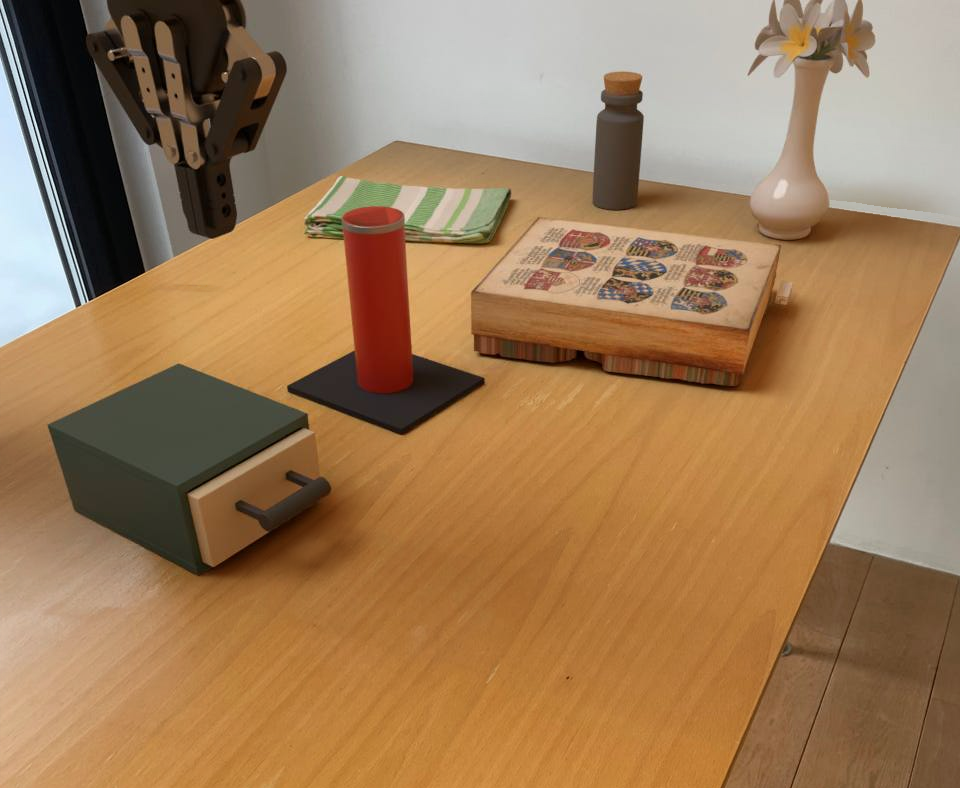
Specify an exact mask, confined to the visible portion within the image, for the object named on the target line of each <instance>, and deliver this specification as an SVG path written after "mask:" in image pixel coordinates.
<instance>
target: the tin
mask: <svg viewBox="0 0 960 788" xmlns="http://www.w3.org/2000/svg"><path fill="white" fill-rule="evenodd" d="M341 221H342V227H343V235H344V239H343V244H344V255H345V265H346V275H347V285H348V287H347V288H348V296H349V305H350V306H349V307H350V317H351V326H352V327H351V328H352V337H353V348H354V350H355V359H356V369H357V379H358V384H359V386H360V387H361V388H362V389H364V390H366V391H368V392H372V393H378V394H388V393H395V392H399V391H402V390H404V389H406V388H408V387H409V386H411V384H412V383H413V380H414V378H413V362H412V354H413V350H412V349H413V348H412V347H413V346H412V331H411V329H412V328H411V314H410V296H409V281H408V280H409V278H408V264H407V247H406V245H407V244H406V241H405V227H404V223H405V217H404V213H403V212H402V211H400V210H398V209H395V208H391V207H384V206H369V207H361V208H357V209H353V210H350V211H348V212H346V213H345V214H343V215H342V217H341Z"/></svg>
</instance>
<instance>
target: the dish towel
mask: <svg viewBox="0 0 960 788" xmlns="http://www.w3.org/2000/svg"><path fill="white" fill-rule="evenodd" d="M511 198H512V189H511V188H509V187H493V188H451V187H450V188H449V187H437V186H419V185H418V186H417V185H405V184H399V183H391V182H374V181H370V180H364V179H358V178H352V177H348V176H343V175H341V176H339V177H337V179H336V180H335V182H334V183H333V185H332V186H331V187H330V188H329V189H328V191H327V192H326V193H325V194H324V195H323V196H322V198H321V199H320V200H319V201H318V202H317V204H316V205H315V206H314V207H313V208H312V209H310V211H309V212H308V214H307V215H306V216H305V217H304V218H303V224H304V225H305V226H306V229H305V230H304V235H307V236H309V237H310V238H312V239H313V238H314V239H315V238H326V239H340V240H344V235H343V227H342V221H341V217H342V215H343V214H345V213H346V212H348V211H350V210H353V209H357V208H361V207H369V206H384V207H391V208H395V209H398V210H400V211H402V212H403V213H404V217H405V223H404V227H405V242H421V243H442V244H443V243H444V244H458V243H460V244H480V245H481V244H489V243H490V242H491V241H492V239H493V237H494V236H495V234H496V232H497V230H498V228H499V226H500V224H501V222H502V219H503V217H504V215H505V212H506V210H507V207H508V205H509V203H510V200H511Z"/></svg>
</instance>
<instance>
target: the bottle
mask: <svg viewBox="0 0 960 788" xmlns="http://www.w3.org/2000/svg"><path fill="white" fill-rule="evenodd" d="M642 81H643V75H642V74H641V73H638V72H634V71H611V72H608V73H605V74H604V75H603V84H604V89H603V90H602V91H601V92H600V101H601V102H602V103H603V104H604V109H602V110H600V111H599V112H598V114H597V115H596V125H595V142H594V143H595V144H594V161H593V181H592V204H593V205H594V206H595V207H597V208H600V209H604V210H609V211H621V210H628V209H631V208H634V207H635V206H636V205H637V203H638V198H639V197H638V194H639V183H640V171H641V160H642V159H641V158H642V147H643V134H644V123H645V122H644V121H645V116H644V114H643V113H642V112H641V110H639V109H638V104H640V103H642V102H643V99H644V98H643V96H644V92H643V91H642V90H640V89H641V85H642Z"/></svg>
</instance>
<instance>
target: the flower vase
mask: <svg viewBox="0 0 960 788" xmlns="http://www.w3.org/2000/svg"><path fill="white" fill-rule="evenodd" d="M823 1H824V0H809V1H808V2H807V4H806V5H805V7H804V10H803V7H802V3H801V1H800V0H783V3H782V7H781V9H780V11H779V17H778V13H777V7H776V0H772V2H771V4H770V9H769V14H768V24H767V25H765V26H763V28H762V29H761V30H760V32H759V33H758V35H757V37H756V38H755V42H754V50H756V51H758V55H757V56H756V57H755V58H754V61H753V62H752V63H751V66H750V68H749V70H748V73H747V77H750V75H751V74H752V73H753V72H755V70H756V69H757V68H758V67H759V66H760V65H761V64H762V63H763V62H764V61H766V59H767V58H769V57H774V56H775V57H776V56H780V57H779V58H777V60H776V62H775V65H774V67H773V77H774V78H775V79H776V78H778V79H779V78H781V77H782V76H783V75H784V74H785V73H786V72H787V71H788V70H789V68H790V66H791V65H792V64H793V67H794V68H793V69H794V91H793V98H792V99H793V100H792V106H791V111H790V117H789V122H788V127H787V132H786V136H785V139H784V143H783V148H782V151H781V154H780V156H779V158H778V160H777V162H776V163H775V165H774V167H773V169H771V171H770V172H769V174H767V175H766V176H764V178H763V179H762V180H760V181H759V182H758V183H757V184H756V186H755V188H754V189H753V191H752V193H751V195H750V197H749V200H748V206H749V210H750V213H751V215H752V217H753V218H754V219H755V220H756V222H758V223H759V224H758V230H759V233H761V234H762V235H763V236H765V237H768V238H770V239H775V240H785V241H793V240H794V241H795V240H801V239H804V238H807V237H808V236H809V235H810V234H811V231H812V228H813V227H815V226H816V225H817V224H819V223H820V222H821V221H822V220H823V219H824V218H825V217H826V215H827V213H828V211H829V208H830V196H829V193H828V190H827V188H826V186H825V185H824V183H823V181H822V180H821V179H820V177H819V176H818V173H817V169H816V164H815V157H814V156H815V155H814V151H815V149H814V148H815V147H814V146H815V138H816V137H815V136H816V130H817V123H818V116H819V110H820V104H821V98H822V95H823V91H824V87H825V84H826V81H827V78H828V76H829V73H830V72H831V73H832V74H839V73H840V72H841V71H842V69H843V67H844V57H843V56H845V58H846V61H847V63H848V65H849V66H850V67H851V68H853V67H854V66H856V67H857V69H858V70H859V71H860V72H861V74H862V75H863V76H864V77H865V78H867V79H868V78H869V77H870V66H869V63H868V61H867V60H868V55H867V52H866V51H868V50H870V49H872V48H873V47H874V46H875V43H876V35H875V33H874V32H873V29H874V27H873V26H874V25H873V23H872V22H871V21H869V20H866V19H863V16H864V4H863V0H857V1H856V3H855V5H854V8H853V10H852V13H851V14H850V13H849V8H848V3H847V1H846V0H832V1H831V2H830V3H829V4H828V6H827V8H826V9H825V12H821V11H822V4H823ZM778 18H779V19H778Z"/></svg>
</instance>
